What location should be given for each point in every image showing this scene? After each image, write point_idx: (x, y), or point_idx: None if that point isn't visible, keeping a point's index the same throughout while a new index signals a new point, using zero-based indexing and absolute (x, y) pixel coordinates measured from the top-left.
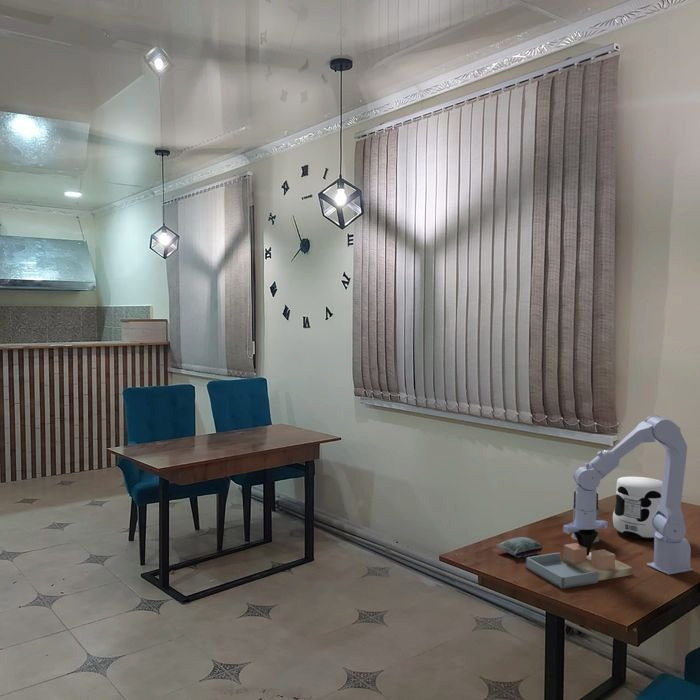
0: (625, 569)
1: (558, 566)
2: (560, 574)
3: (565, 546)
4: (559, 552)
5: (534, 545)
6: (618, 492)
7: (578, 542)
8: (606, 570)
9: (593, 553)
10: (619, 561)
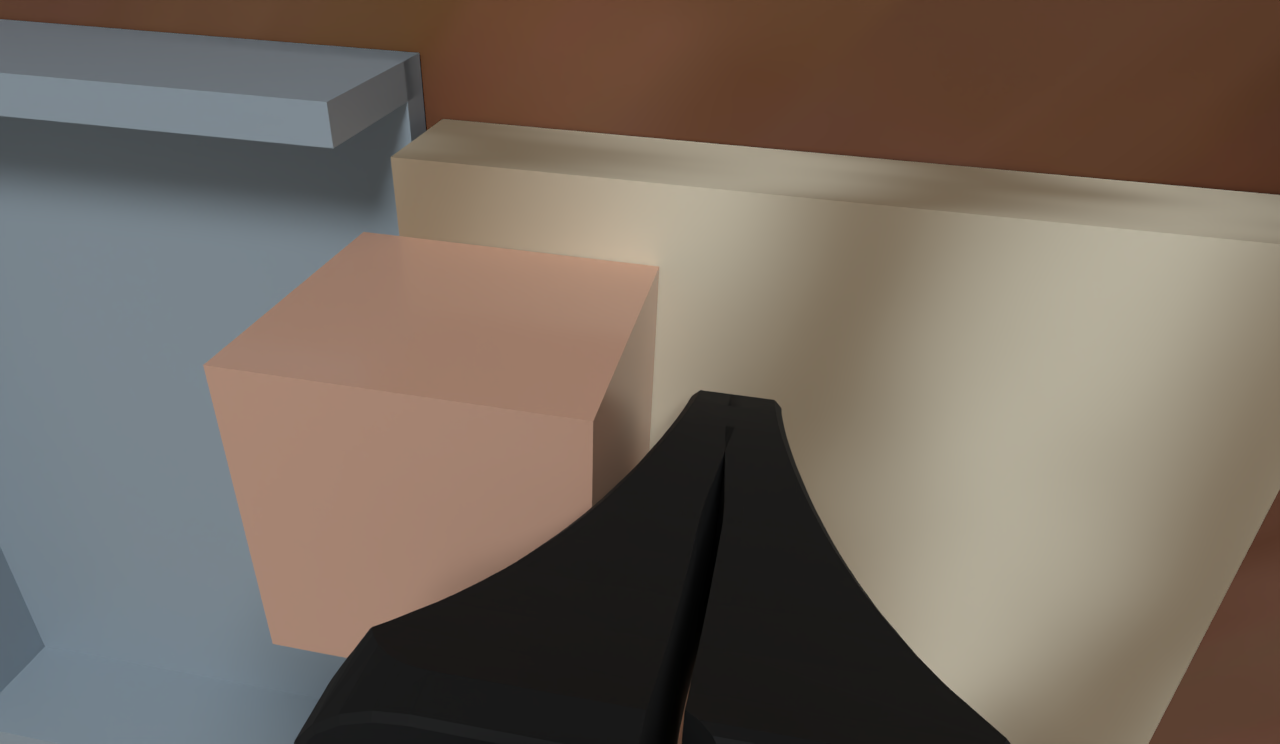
0: None
1: (242, 273)
2: (142, 471)
3: (229, 411)
4: (326, 107)
5: None
6: None
7: (599, 506)
8: None
9: None
10: (1153, 731)
